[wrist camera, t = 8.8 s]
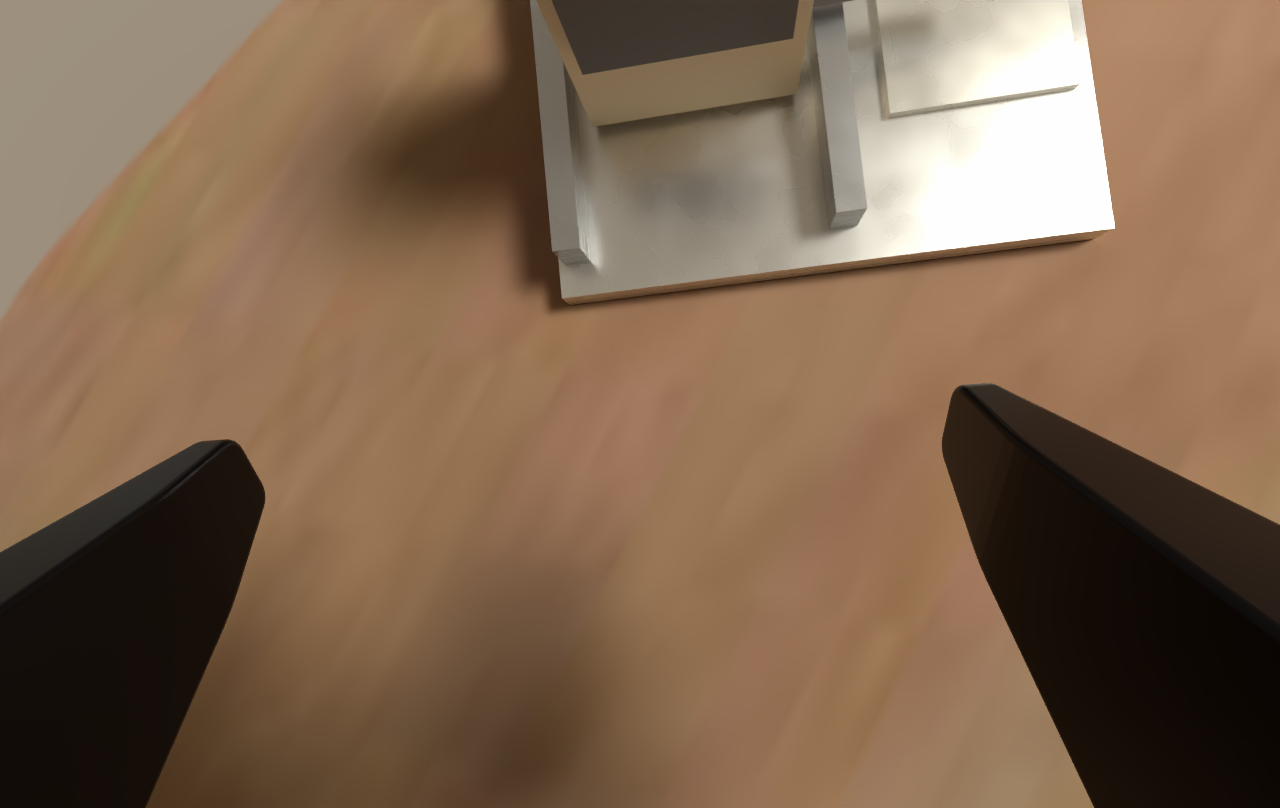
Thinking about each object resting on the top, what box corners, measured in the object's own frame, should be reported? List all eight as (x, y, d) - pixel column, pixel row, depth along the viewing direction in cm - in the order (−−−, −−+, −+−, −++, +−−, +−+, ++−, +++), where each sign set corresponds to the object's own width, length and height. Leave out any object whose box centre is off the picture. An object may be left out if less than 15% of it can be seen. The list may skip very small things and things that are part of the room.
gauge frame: (1095, 238, 19) (1148, 209, 17) (570, 305, 21) (548, 287, 19) (1034, -186, 20) (1076, -273, 18) (534, -82, 22) (510, -148, 20)
